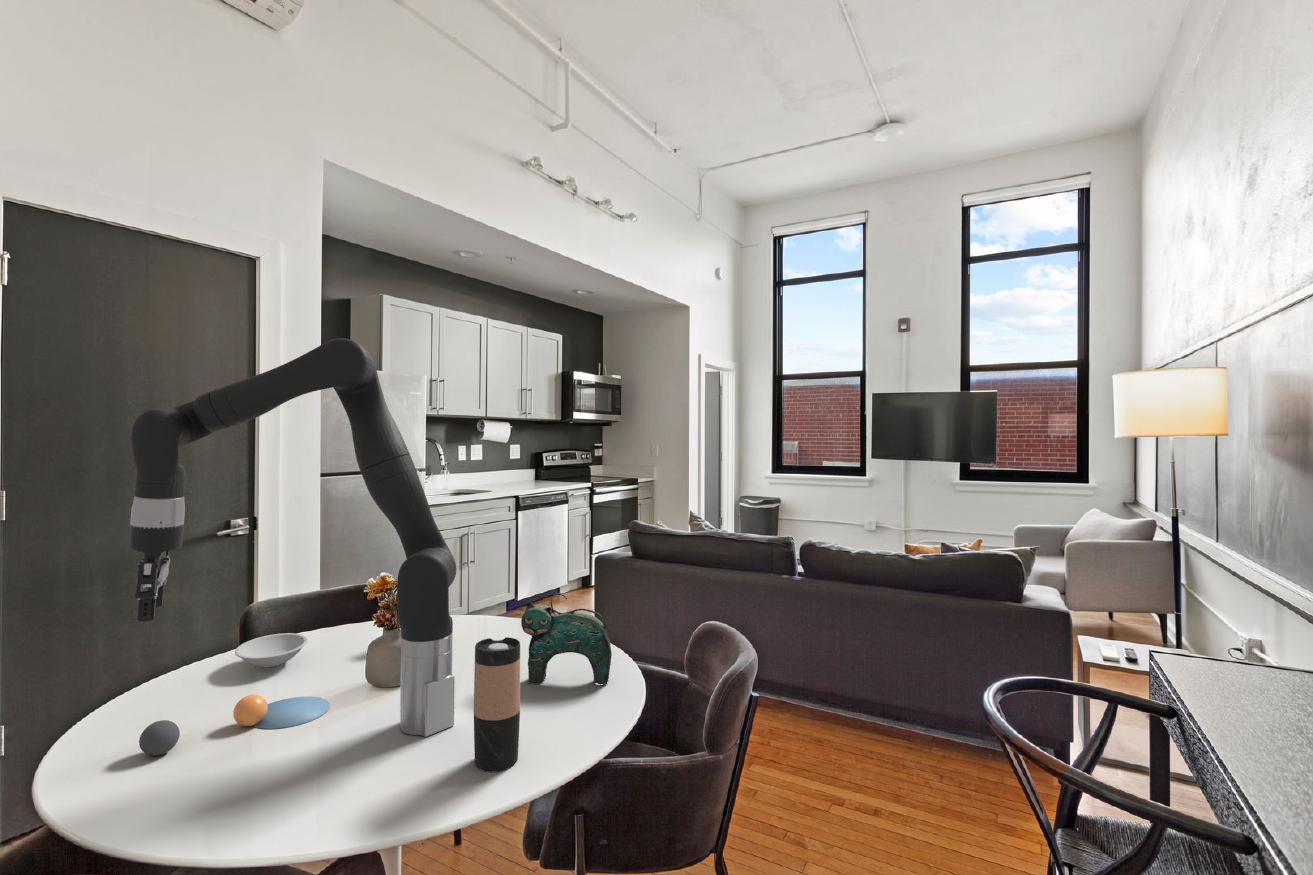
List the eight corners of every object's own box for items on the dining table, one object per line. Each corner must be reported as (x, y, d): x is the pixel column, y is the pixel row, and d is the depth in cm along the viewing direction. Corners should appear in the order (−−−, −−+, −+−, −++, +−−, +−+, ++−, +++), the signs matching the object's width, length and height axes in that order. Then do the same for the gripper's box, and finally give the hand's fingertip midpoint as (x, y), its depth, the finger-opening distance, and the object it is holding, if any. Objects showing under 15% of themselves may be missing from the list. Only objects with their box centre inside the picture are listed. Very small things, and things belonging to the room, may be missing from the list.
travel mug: (495, 777, 104) (497, 654, 104) (463, 764, 109) (464, 645, 108) (528, 757, 111) (530, 641, 111) (496, 745, 115) (498, 633, 115)
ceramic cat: (519, 685, 142) (520, 594, 142) (526, 674, 149) (527, 587, 148) (609, 688, 141) (610, 597, 141) (612, 677, 148) (614, 589, 147)
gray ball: (184, 752, 111) (184, 720, 111) (144, 765, 107) (144, 732, 107) (173, 742, 114) (173, 711, 114) (134, 754, 110) (135, 722, 110)
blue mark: (343, 710, 128) (343, 709, 128) (266, 736, 117) (266, 734, 117) (310, 691, 137) (310, 690, 137) (236, 714, 126) (236, 713, 126)
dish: (249, 655, 158) (249, 635, 158) (314, 650, 162) (314, 631, 162) (223, 683, 141) (223, 660, 141) (296, 677, 145) (297, 655, 145)
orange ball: (272, 723, 122) (272, 694, 122) (239, 734, 118) (240, 704, 118) (260, 715, 125) (260, 687, 125) (228, 725, 121) (228, 696, 121)
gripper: (178, 529, 109) (170, 624, 110) (189, 515, 122) (182, 600, 122) (121, 529, 106) (113, 627, 106) (138, 514, 118) (131, 602, 118)
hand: (150, 613), depth 114 cm, fingers open, 8 cm apart
